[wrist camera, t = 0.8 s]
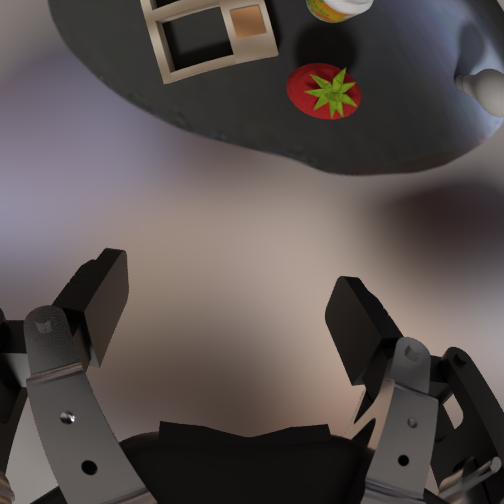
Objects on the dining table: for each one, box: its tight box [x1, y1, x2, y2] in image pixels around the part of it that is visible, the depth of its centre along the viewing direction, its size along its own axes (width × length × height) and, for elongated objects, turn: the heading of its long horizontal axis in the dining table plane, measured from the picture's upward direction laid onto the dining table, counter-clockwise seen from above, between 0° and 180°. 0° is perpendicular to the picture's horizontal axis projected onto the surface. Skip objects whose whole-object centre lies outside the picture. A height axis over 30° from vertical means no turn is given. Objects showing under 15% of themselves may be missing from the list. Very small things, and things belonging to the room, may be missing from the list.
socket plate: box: [140, 0, 279, 84], centre depth 19 cm, size 18×12×3 cm
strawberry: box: [287, 63, 361, 119], centre depth 23 cm, size 6×8×10 cm
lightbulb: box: [455, 69, 504, 117], centre depth 19 cm, size 6×6×11 cm
